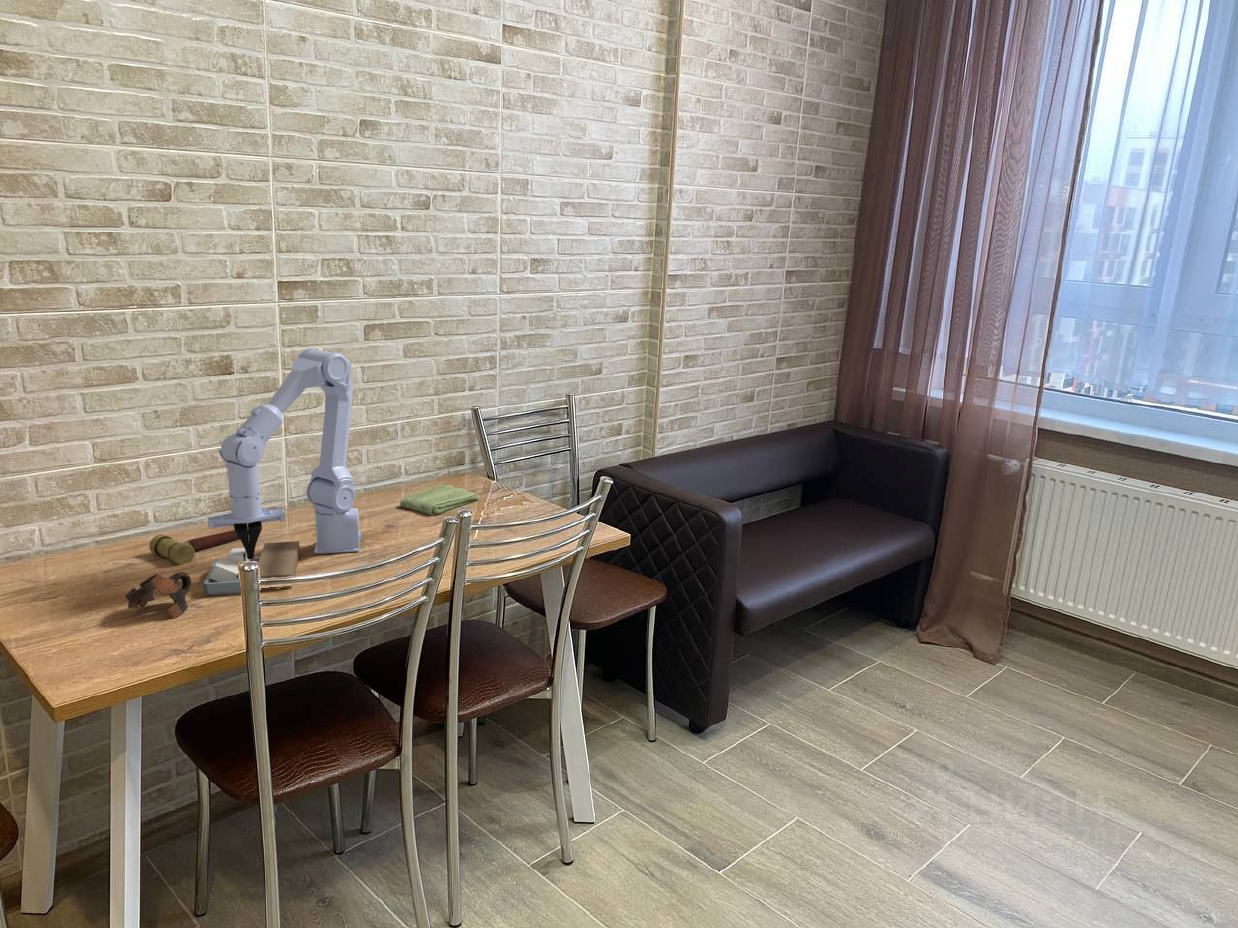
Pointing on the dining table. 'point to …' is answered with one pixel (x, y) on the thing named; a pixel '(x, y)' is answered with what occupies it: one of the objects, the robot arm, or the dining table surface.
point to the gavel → (187, 545)
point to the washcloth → (438, 499)
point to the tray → (222, 584)
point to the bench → (279, 560)
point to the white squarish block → (224, 571)
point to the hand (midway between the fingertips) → (250, 557)
